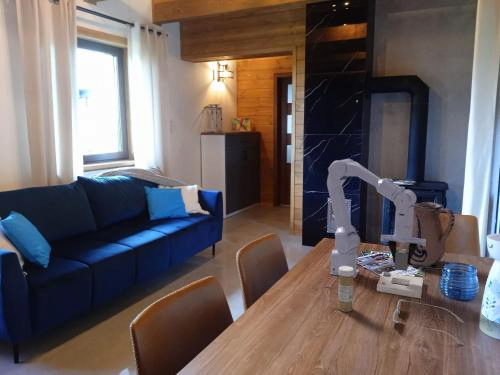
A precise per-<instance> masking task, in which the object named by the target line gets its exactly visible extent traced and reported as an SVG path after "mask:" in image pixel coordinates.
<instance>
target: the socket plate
mask: <svg viewBox="0 0 500 375" xmlns="http://www.w3.org/2000/svg"><path fill="white" fill-rule="evenodd" d="M423 281H424V277H418V276H412V275H406V274H399V273H391V272H390V271H389V272H388V271H382V272H381V275H380V278H379V280H378V282H377V284H376V292H380V293H387V294H391V295H392V294H393V295H398V296H405V297H409V298H416V299H417V298H418V299H422V293H423V292H422V291H423V283H424V282H423Z"/></svg>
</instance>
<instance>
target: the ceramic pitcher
mask: <svg viewBox="0 0 500 375" xmlns="http://www.w3.org/2000/svg"><path fill="white" fill-rule="evenodd" d="M412 206H414V209H413V229H412V237H415V238H420V239H426V246H422V245H417V248H416V250H415V252H414V253H413V255H412V258H411V260H410V265H411V264H412V265H413V266H421V267H429V266H430V267H431V266H434V265H436V264H438V263H439V262H440V261H441V260H442V259H443V258H444V256H445V253H446V248H447V246H446V244H447V243H446V240H447V238H448V237H449V235H450V234H451V231H452V230H453V228H454V226H455V221H456V220H455V214H454V213H453V211H452V210H451V209H450V208H446V207H444V205H443V204H441V203H437V202H432V201H422V202H417V201H416V202H415V204H414V205H412ZM410 207H411V206H410ZM443 212H444V213H446V214H447V215H448V217H449V218H448V219H449V221H448V224H447V226H446V229H445V231H444V228H443V224H442V220H441V216H440V214H441V213H443ZM398 245H399V246H398V247H399V249H404V250H406V251H409V244H406V243H398Z"/></svg>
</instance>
